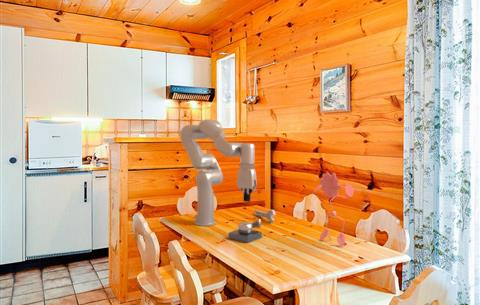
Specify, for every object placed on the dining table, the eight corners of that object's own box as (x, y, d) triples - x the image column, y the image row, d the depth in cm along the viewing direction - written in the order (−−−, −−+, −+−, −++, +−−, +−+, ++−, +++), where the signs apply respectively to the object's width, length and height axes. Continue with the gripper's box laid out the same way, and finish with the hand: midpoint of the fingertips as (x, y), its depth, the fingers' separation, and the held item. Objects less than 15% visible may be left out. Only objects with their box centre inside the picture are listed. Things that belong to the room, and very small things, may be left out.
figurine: (319, 235, 187) (320, 168, 185) (360, 249, 166) (361, 173, 164) (297, 240, 179) (297, 170, 177) (337, 255, 158) (338, 176, 155)
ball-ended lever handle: (246, 234, 177) (246, 225, 176) (235, 231, 181) (235, 223, 181) (265, 227, 189) (265, 219, 189) (254, 225, 194) (254, 217, 194)
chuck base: (228, 238, 181) (228, 232, 180) (243, 233, 190) (243, 228, 190) (247, 243, 173) (247, 236, 173) (261, 237, 183) (261, 231, 183)
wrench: (256, 218, 238) (276, 224, 210) (254, 218, 237) (273, 224, 209) (256, 206, 238) (275, 210, 210) (253, 206, 238) (272, 210, 209)
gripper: (231, 166, 192) (231, 200, 193) (254, 168, 182) (254, 203, 183) (240, 165, 198) (240, 198, 199) (263, 167, 188) (262, 201, 189)
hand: (246, 201), depth 191 cm, fingers closed
